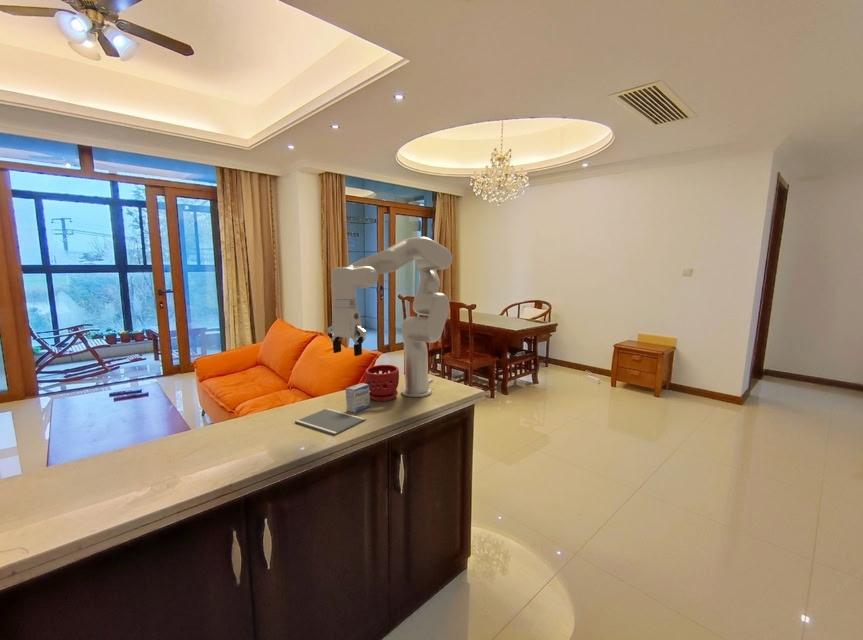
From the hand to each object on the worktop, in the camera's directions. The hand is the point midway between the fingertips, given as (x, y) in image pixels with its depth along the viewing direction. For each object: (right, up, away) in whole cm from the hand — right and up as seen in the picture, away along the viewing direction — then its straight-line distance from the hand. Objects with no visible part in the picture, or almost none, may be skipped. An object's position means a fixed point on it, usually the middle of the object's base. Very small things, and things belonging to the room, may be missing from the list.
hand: (347, 353), depth 133 cm
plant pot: (+9, -20, +22) cm, 31 cm away
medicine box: (+2, -21, +11) cm, 24 cm away
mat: (-6, -23, -1) cm, 24 cm away
